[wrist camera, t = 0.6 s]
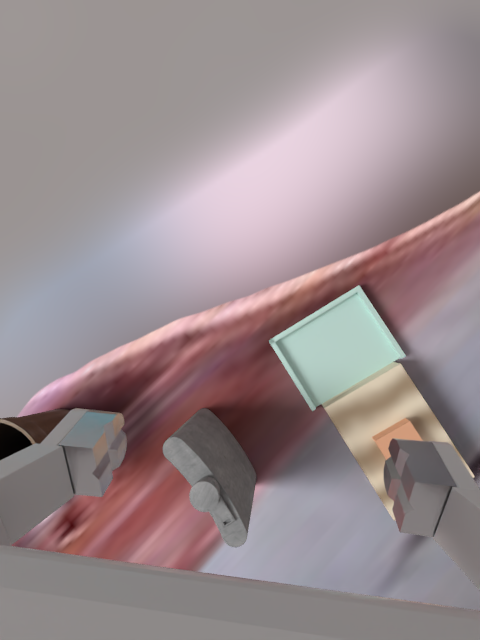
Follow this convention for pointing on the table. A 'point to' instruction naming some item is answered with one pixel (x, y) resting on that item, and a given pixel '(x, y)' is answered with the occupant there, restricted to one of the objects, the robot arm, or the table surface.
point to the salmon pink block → (395, 435)
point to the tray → (336, 347)
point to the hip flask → (215, 473)
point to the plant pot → (27, 430)
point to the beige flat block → (382, 419)
